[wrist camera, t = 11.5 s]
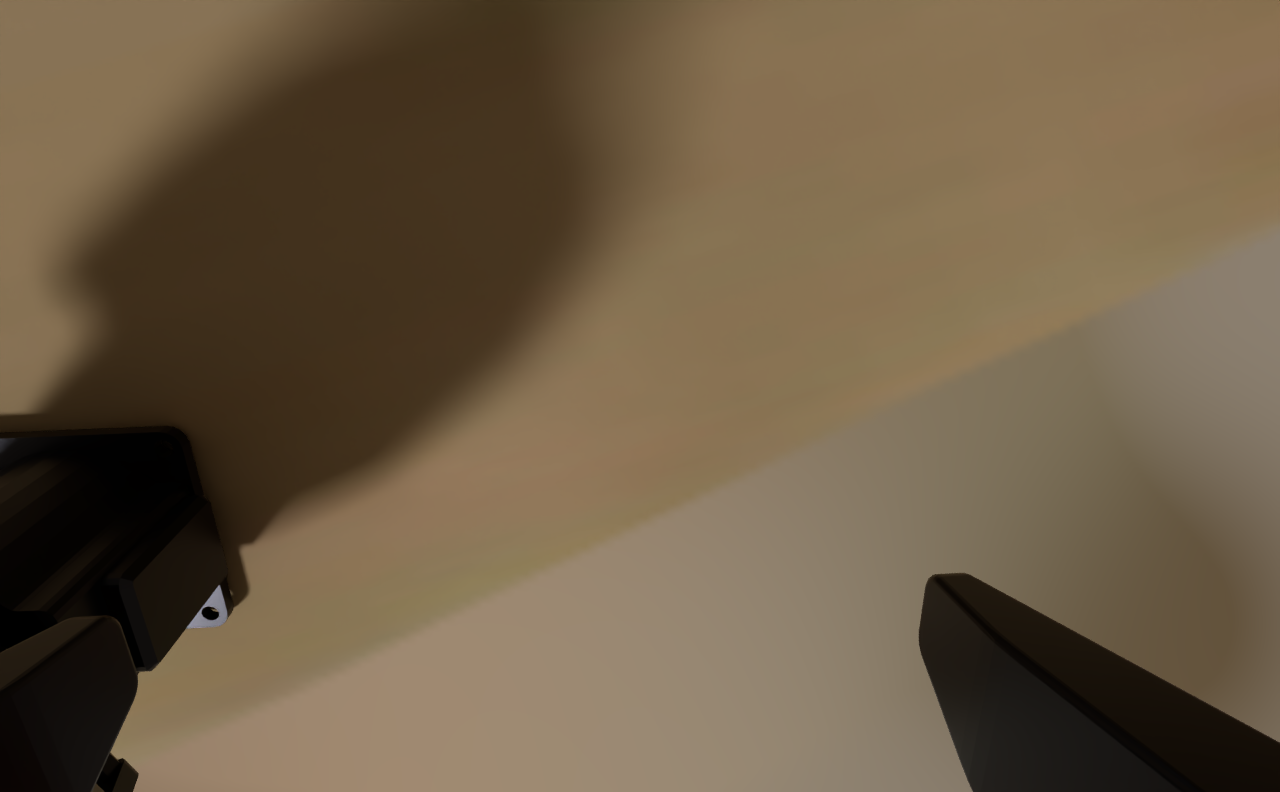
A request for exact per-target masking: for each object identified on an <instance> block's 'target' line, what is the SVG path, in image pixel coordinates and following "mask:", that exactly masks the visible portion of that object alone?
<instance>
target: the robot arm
mask: <svg viewBox="0 0 1280 792" xmlns="http://www.w3.org/2000/svg"><path fill="white" fill-rule="evenodd" d="M162 440H163V441H167V442H168V443H170V444H171V445H172V447H173V451H172V450H168V449H166V448H165V447H164V446H163V444H162ZM227 574H228V568H227V564H226V560H225V556H224V553H223V549H222V545H221V541H220V538H219V534H218V530H217V526H216V523H215V519H214V515H213V511H212V508H211V504H210V502H209V501H208V500H207V498H206V497H205V496H204V494H203V490H202V486H201V483H200V479H199V475H198V472H197V468H196V464H195V460H194V457H193V453H192V449H191V445H190V442H189V440H188V438H187V436H186V435H185V434H184V433H183V432H182V431H181V430H179V429H177V428H175V427H170V426H156V427H131V428H106V429H82V430H57V431H32V432H8V433H0V792H133V789H134V787H135V784H136V781H137V778H138V772H137V771H136V770H135V769H134V768H133V767H132V766H131V765H130V764H129V763H128V762H127V761H126V760H125V759H123V758H122V759H118V760H117V759H116V758H115V757H114V756H113V755H112V754H111V753H110V751H111V749H112V747H113V745H114V743H115V740H116V738H117V736H118V734H119V732H120V730H121V727H122V725H123V723H124V721H125V719H126V716H127V714H128V712H129V710H130V708H131V705H132V703H133V701H134V698H135V696H136V692H137V686H138V676H137V675H138V673H139V672H144V671H152V670H153V669H154V668H155V667H156V666H157V665H158V664H159V663H160V662H161V660H162V659H163V658H164V657H165V655H166V654H167V653H168V651H169V650H170V649H171V647H172V646H173V645H174V643H175V642H176V641H177V640H178V638H179V637H180V636H181V634H182V633H183V632H184V630H185V629H186V628H203V627H216V626H220V625H222V624H223V623H225V622H226V620H227V619H228V617H229V616H230V614H231V613H232V611H233V602H232V598H231V594H230V591H229V587H228V583H227V579H226V575H227ZM208 606H210V607H214V608H215V609H217V610H218V612H215V611H212V610H211V609H210V608H209V607H208ZM919 646H920V651H921V655H922V658H923V660H924V663H925V666H926V669H927V671H928V674H929V676H930V679H931V682H932V685H933V688H934V690H935V693H936V696H937V699H938V702H939V704H940V707H941V710H942V712H943V715H944V718H945V721H946V724H947V726H948V729H949V732H950V735H951V737H952V740H953V743H954V745H955V748H956V751H957V754H958V757H959V759H960V762H961V764H962V767H963V769H964V772H965V775H966V777H967V780H968V782H969V784H970V786H971V788H972V790H973V792H1280V742H1277V741H1276V740H1274V739H1272V738H1270V737H1269V736H1267V735H1265V734H1263V733H1261V732H1259V731H1257V730H1256V729H1254V728H1252V727H1250V726H1248V725H1246V724H1245V723H1243V722H1241V721H1239V720H1237V719H1235V718H1234V717H1232V716H1230V715H1228V714H1226V713H1224V712H1222V711H1221V710H1219V709H1217V708H1215V707H1213V706H1211V705H1209V704H1208V703H1206V702H1204V701H1202V700H1200V699H1198V698H1197V697H1195V696H1193V695H1191V694H1189V693H1187V692H1185V691H1184V690H1182V689H1180V688H1178V687H1176V686H1174V685H1173V684H1171V683H1169V682H1167V681H1165V680H1163V679H1161V678H1160V677H1158V676H1156V675H1154V674H1152V673H1150V672H1149V671H1147V670H1145V669H1143V668H1141V667H1139V666H1138V665H1136V664H1134V663H1132V662H1130V661H1128V660H1126V659H1125V658H1123V657H1121V656H1119V655H1117V654H1115V653H1114V652H1112V651H1110V650H1108V649H1106V648H1104V647H1102V646H1100V645H1099V644H1097V643H1095V642H1093V641H1091V640H1090V639H1088V638H1086V637H1084V636H1082V635H1080V634H1078V633H1077V632H1075V631H1073V630H1071V629H1069V628H1067V627H1066V626H1064V625H1062V624H1060V623H1058V622H1056V621H1054V620H1052V619H1051V618H1049V617H1047V616H1045V615H1043V614H1041V613H1040V612H1038V611H1036V610H1034V609H1032V608H1030V607H1029V606H1027V605H1025V604H1023V603H1021V602H1019V601H1017V600H1016V599H1014V598H1012V597H1010V596H1008V595H1006V594H1005V593H1003V592H1001V591H999V590H997V589H995V588H993V587H992V586H990V585H988V584H986V583H984V582H982V581H981V580H979V579H977V578H975V577H973V576H971V575H969V574H966V573H949V574H935V575H932V576H931V577H930V578H929V579H928V581H927V584H926V587H925V593H924V600H923V607H922V614H921V621H920V627H919Z"/></svg>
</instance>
